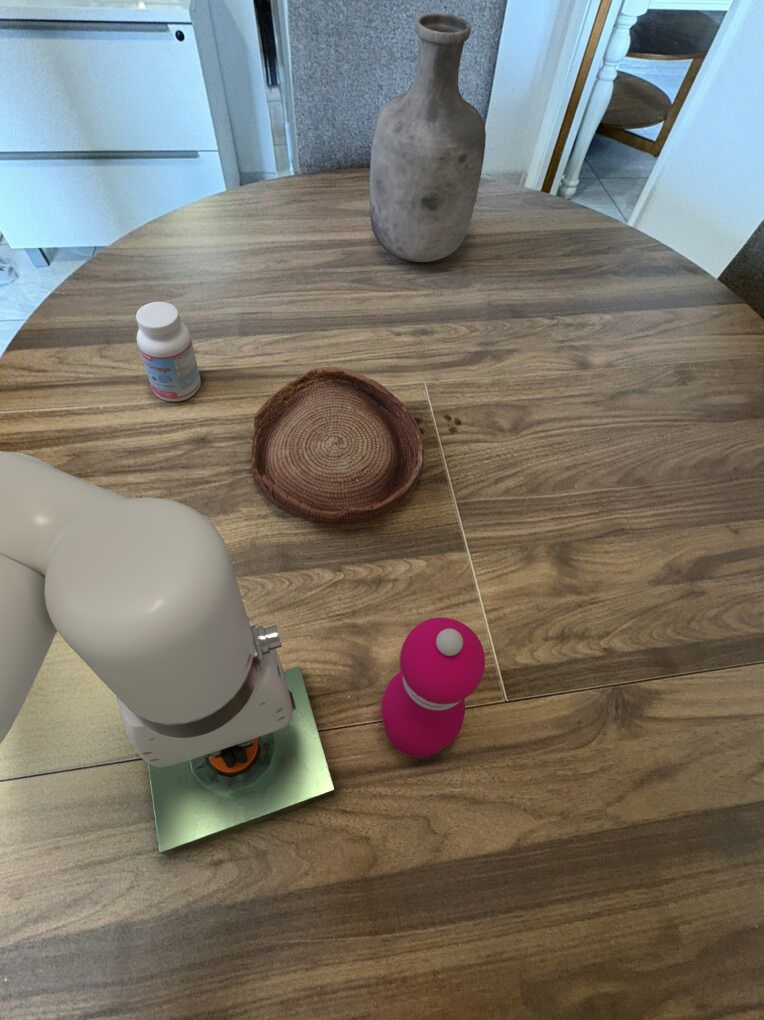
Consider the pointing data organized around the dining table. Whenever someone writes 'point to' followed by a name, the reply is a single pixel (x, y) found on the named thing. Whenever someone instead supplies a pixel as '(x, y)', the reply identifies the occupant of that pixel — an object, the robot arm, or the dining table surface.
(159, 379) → the pill bottle
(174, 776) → the green button base
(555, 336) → the dining table surface
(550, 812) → the dining table surface
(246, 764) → the button
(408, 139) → the vase
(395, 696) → the pepper mill
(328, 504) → the basket
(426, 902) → the dining table surface
